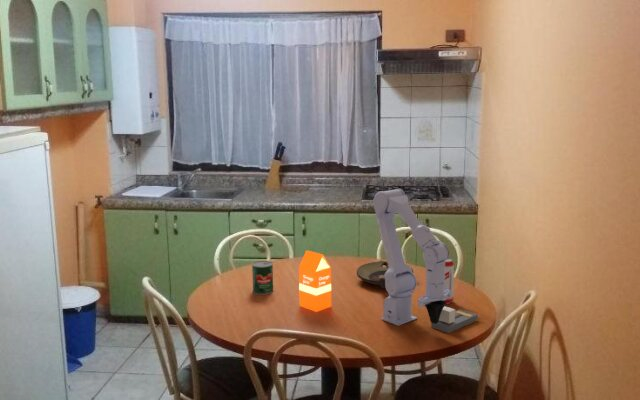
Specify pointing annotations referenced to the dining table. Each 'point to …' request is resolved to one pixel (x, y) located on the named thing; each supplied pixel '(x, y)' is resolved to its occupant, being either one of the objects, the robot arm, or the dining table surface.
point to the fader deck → (456, 321)
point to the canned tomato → (262, 277)
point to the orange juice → (314, 282)
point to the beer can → (449, 278)
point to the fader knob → (447, 315)
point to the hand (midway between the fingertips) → (434, 322)
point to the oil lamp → (374, 272)
